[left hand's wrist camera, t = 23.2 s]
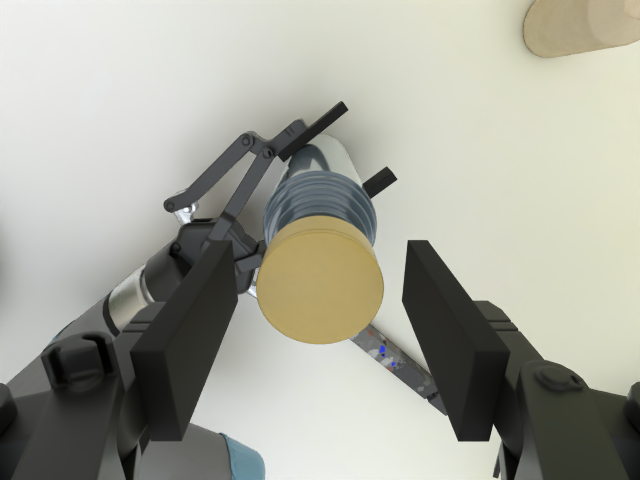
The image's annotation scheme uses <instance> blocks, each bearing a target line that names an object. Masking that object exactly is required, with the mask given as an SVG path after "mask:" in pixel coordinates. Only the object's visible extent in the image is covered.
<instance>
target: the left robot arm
mask: <svg viewBox="0 0 640 480" xmlns="http://www.w3.org/2000/svg"><path fill="white" fill-rule="evenodd" d="M237 302H238V295H237V285H236V275H235V265H234V254H233V244H232V240H212V242H211V243H210V244H209V246H208V247H207V248H206V250H205V251H204V252H203V254H202V255H201V256H200V258H199V259H198V260H197V262H196V263H195V264H194V266H193V267H192V268H191V270H190V271H189V273H188V274H187V275H186V277H185V278H184V279H183V281H182V282H181V283H180V285H179V286H178V287H177V289H176V290H175V291H174V293H173V294H172V295H171V297H170V298H169V299H168V301H167V302H152V303H150V304H149V305H147V306H146V307H144V308H142V309H141V310H139V311H138V312H137V313H136V315H135V316H134V317H133V318H132V319H131V320H130V323H129V324H127V325H126V326H125V328H124V329H123V330H122V333H119V335H118V336H117V337H116V338H115V339H114V341H112V337H111V336H110V335H109V334H107V333H106V332H100V331H89V332H82V333H78V334H75V335H71V336H69V337H66V338H64V339H62V340H60V341H58V342H56V343H55V344H53V345H52V346H50V347H49V348H47V349H46V351H45V352H44V353H43V354H42V355H41V356H40V358H41V360H42V363H43V366H44V369H45V372H46V374H47V377H48V380H49V383H50V385H51V390H48V391H44V392H40V393H35V394H31V395H26V396H22V397H17V398H13V396H12V394H11V391H10V389H9V387H7V386H6V385H4V384H3V383H0V480H139V473H140V463H141V450H140V445H139V439H140V437H141V435H142V433H143V431H144V429H145V428H146V426H147V427H148V431H149V435H150V439H151V441H182V439H183V437H184V434H185V432H186V429H187V427H188V424H189V422H190V419H191V417H192V415H193V412H194V410H195V407H196V405H197V402H198V400H199V397H200V395H201V392H202V390H203V387H204V385H205V382H206V380H207V377H208V375H209V372H210V370H211V367H212V365H213V362H214V360H215V357H216V355H217V352H218V350H219V347H220V345H221V342H222V340H223V337H224V335H225V332H226V330H227V327H228V325H229V322H230V320H231V317H232V315H233V312H234V310H235V307H236V305H237ZM402 302H403V305H404V307H405V310H406V312H407V315H408V317H409V320H410V322H411V325H412V327H413V330H414V332H415V335H416V337H417V340H418V342H419V345H420V347H421V350H422V352H423V355H424V357H425V360H426V362H427V365H428V367H429V370H430V372H431V375H432V377H433V380H434V382H435V385H436V387H437V390H438V392H439V395H440V397H441V400H442V402H443V405H444V407H445V410H446V412H447V415H448V417H449V420H450V422H451V424H452V427H453V429H454V432H455V434H456V437H457V439H458V441H489V439H490V435H491V431H492V427H493V424H494V426H495V428H496V429H497V431H498V433H499V435H500V437H501V439H502V441H501V445H500V449H499V452H498V456H497V460H496V464H495V468H494V473H493V477H495V478H498V477H499V473H500V471H501V480H640V382H637V383H635V384H634V385H632V386H631V389H630V391H629V394H628V396H627V397H626V396H621V395H616V394H612V393H607V392H603V391H598V390H594V389H590V388H589V387H588V386H587V384H586V383H585V381H584V380H583V379H582V378H581V377H580V376H578V375H577V374H576V373H575V372H573V371H572V370H570V369H568V368H566V367H564V366H562V365H560V364H557V363H554V362H551V361H547V360H544V359H543V358H542V356H541V355H540V354H539V353H538V352H537V351H536V349H535V348H534V347H533V346H532V345H531V344H530V342H529V341H528V340H527V339H526V338H525V337H524V335H523V334H522V333H521V332H520V331H518V328H517V327H516V326H515V325H514V324H513V322H511V320H510V319H509V318H508V317H507V315H506V314H505V313H504V312H503V311H502V310H501V309H500V308H498V307H497V306H495V305H493V304H492V303H490V302H489V301H472V299H471V298H470V297H469V295H468V294H467V293H466V291H465V290H464V289H463V287H462V286H461V285H460V283H459V282H458V281H457V279H456V278H455V277H454V275H453V274H452V273H451V271H450V270H449V268H448V267H447V266H446V264H445V263H444V262H443V260H442V259H441V258H440V256H439V255H438V254H437V252H436V251H435V250H434V248H433V247H432V246H431V244H430V243H429V242H428V240H408V244H407V254H406V265H405V275H404V285H403V295H402Z"/></svg>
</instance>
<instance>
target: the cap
mask: <svg viewBox="0 0 640 480" xmlns="http://www.w3.org/2000/svg"><path fill="white" fill-rule="evenodd" d="M383 292H384V284H383V277H382V273H381V270H380V267H379V265H378V262H377V259H376V256H375V253H374V251H373V248H372V246H371V244H370V242H369V241H368V239H367V238H366V237H365V235H364V234H363V233H362V232H361V231H360V230H359V229H357V228H356V227H355V226H353V225H352V224H350V223H348V222H346V221H344V220H341V219H338V218H335V217H330V216H310V217H305V218H301V219H299V220H296V221H294V222H292V223H290V224H288V225H286V226H285V227H284V228H282V229H281V230H280V231H279V232H278V233H277V234H276V235H275V236H274V237H273V239H272V240H271V242H270V243H269V245H268V247H267V250H266V252H265V255H264V258H263V261H262V264H261V266H260V269H259V272H258V276H257V280H256V295H257V300H258V303H259V306H260V309H261V311H262V313H263V314H264V316H265V317H266V319H267V320H268V321H269V323H270V324H271V325H272V326H273V327H274V328H276V329H277V330H278V331H279V332H281V333H282V334H284V335H286V336H288V337H290V338H292V339H294V340H297V341H300V342H305V343H310V344H330V343H335V342H339V341H342V340H345V339H348V338H350V337H352V336H354V335H356V334H357V333H359V332H360V331H362V330H363V329H364V328H365V327H366V326H367V325H368V324H369V323H370V322H371V321H372V320H373V318H374V317H375V315H376V314H377V312H378V310H379V308H380V305H381V303H382V298H383Z"/></svg>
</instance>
